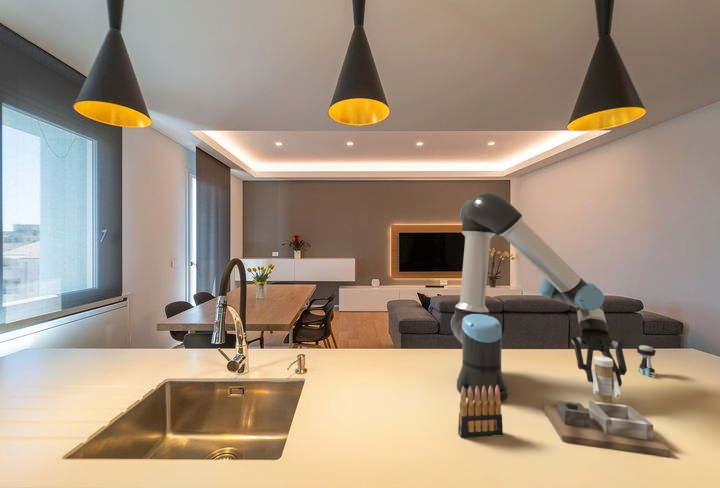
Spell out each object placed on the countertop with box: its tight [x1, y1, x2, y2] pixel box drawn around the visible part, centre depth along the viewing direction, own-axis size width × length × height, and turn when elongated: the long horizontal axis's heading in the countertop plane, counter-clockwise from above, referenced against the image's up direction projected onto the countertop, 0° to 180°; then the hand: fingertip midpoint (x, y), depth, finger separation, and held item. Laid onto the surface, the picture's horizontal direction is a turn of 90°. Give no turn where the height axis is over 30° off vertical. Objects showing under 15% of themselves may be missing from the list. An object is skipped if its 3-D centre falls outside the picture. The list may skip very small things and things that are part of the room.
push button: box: [635, 344, 657, 378], centre depth 115 cm, size 7×5×10 cm
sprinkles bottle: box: [593, 355, 614, 404], centre depth 94 cm, size 5×5×14 cm
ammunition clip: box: [457, 385, 504, 439], centre depth 78 cm, size 11×2×12 cm, turn 96°
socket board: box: [541, 400, 671, 458], centre depth 80 cm, size 21×16×5 cm
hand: (607, 394), depth 90 cm, fingers closed on sprinkles bottle, 4 cm apart
